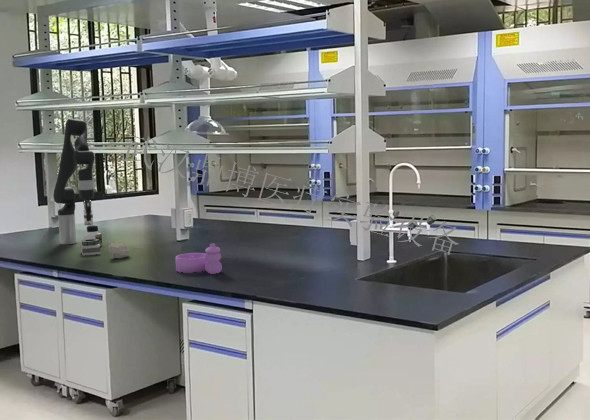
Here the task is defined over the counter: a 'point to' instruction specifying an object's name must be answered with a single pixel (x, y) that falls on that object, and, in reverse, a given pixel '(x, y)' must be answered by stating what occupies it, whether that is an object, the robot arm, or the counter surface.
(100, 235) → the medicine bottle
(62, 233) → the robot arm
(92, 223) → the lens
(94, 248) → the octagon ring plate
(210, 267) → the container set
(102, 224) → the counter surface
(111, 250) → the fossil replica
